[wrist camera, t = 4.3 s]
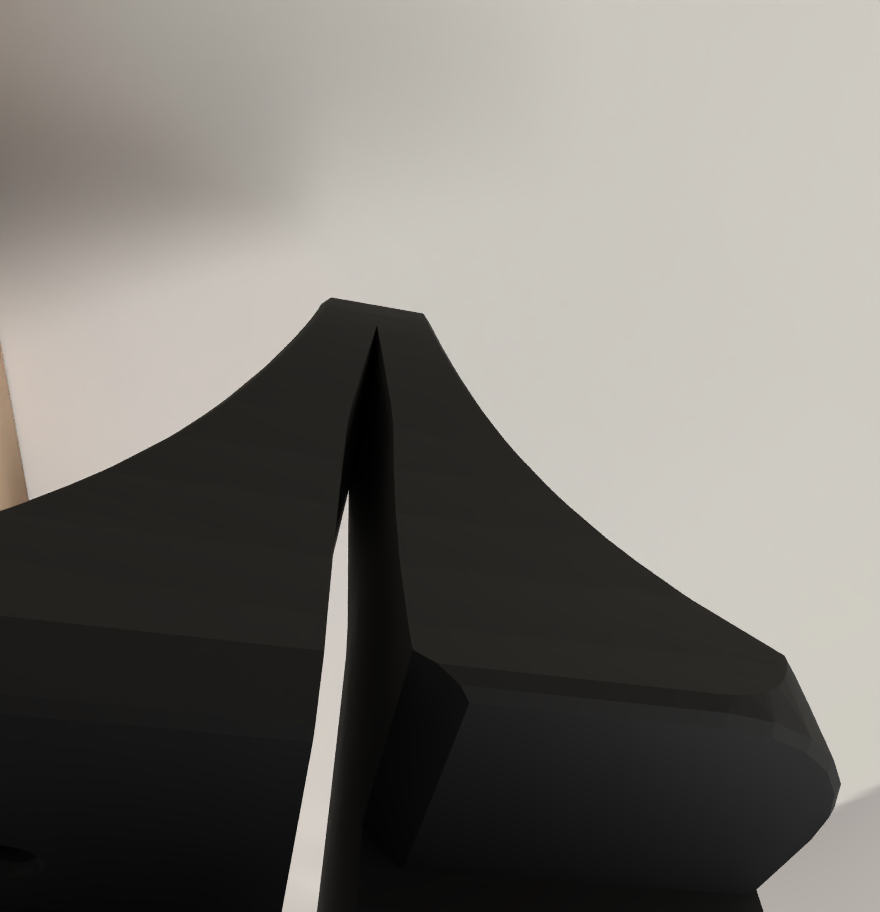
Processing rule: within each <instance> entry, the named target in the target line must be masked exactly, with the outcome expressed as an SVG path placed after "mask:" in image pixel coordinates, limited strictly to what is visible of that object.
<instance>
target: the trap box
mask: <svg viewBox="0 0 880 912" xmlns="http://www.w3.org/2000/svg"><path fill="white" fill-rule="evenodd" d="M27 501H29V499H28V494H27V488H26V483H25V477H24V471H23V466H22V460H21V455H20V449H19V444H18V438H17V432H16V427H15V421H14V416H13V410H12V405H11V399H10V394H9V388H8V382H7V377H6V371H5V366H4V360H3V355H2V349H1V344H0V511H1V510H4V509H7V508H10V507H13V506H16V505H19V504H21V503H24V502H27Z"/></svg>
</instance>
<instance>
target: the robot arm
mask: <svg viewBox="0 0 880 912" xmlns="http://www.w3.org/2000/svg"><path fill="white" fill-rule="evenodd" d="M348 490H349V520H348V631H347V650H346V662H345V671H344V681H343V690H342V699H341V708H340V717H339V726H338V735H337V744H336V753H335V762H334V771H333V780H332V789H331V798H330V806H329V815H328V823H327V832H326V840H325V849H324V858H323V866H322V875H321V883H320V892H319V900H318V908H317V912H763V909H762V906H761V903H760V900H759V897H758V894H757V890H756V889H757V888H759V887H760V886H761V885H762V884H763V883H764V882H765V881H766V880H767V879H768V878H770V876H772V875H773V874H774V873H775V872H776V871H777V870H778V869H779V868H780V867H782V865H784V864H785V863H786V862H787V861H788V860H789V859H790V858H791V857H792V856H794V855H795V854H796V853H797V852H798V851H799V850H800V849H801V848H802V847H803V846H804V845H805V844H807V843H808V842H809V841H810V840H811V839H812V838H813V836H814V835H815V834H816V833H817V832H818V830H819V829H820V828H821V827H822V825H823V824H824V823H825V822H826V820H827V819H828V818H829V816H830V815H831V813H832V811H833V809H834V807H835V803H836V799H837V796H838V792H839V789H840V785H841V783H840V779H839V776H838V773H837V769H836V766H835V763H834V760H833V757H832V755H831V753H830V751H829V748H828V746H827V744H826V742H825V740H824V737H823V735H822V733H821V731H820V728H819V726H818V724H817V722H816V720H815V717H814V715H813V713H812V711H811V709H810V706H809V704H808V702H807V700H806V698H805V696H804V694H803V692H802V689H801V687H800V685H799V683H798V681H797V679H796V677H795V675H794V673H793V671H792V669H791V667H790V665H789V664H788V662H787V660H786V658H785V656H784V655H782V654H781V653H779V652H777V651H776V650H774V649H772V648H771V647H769V646H767V645H766V644H764V643H762V642H761V641H759V640H757V639H756V638H754V637H752V636H751V635H749V634H747V633H746V632H744V631H742V630H741V629H739V628H737V627H736V626H734V625H732V624H731V623H729V622H728V621H726V620H724V619H723V618H721V617H719V616H718V615H716V614H714V613H713V612H711V611H709V610H708V609H706V608H704V607H703V606H701V605H699V604H698V603H696V602H694V601H693V600H691V599H690V598H688V597H687V596H685V595H684V594H682V593H681V592H679V591H678V590H676V589H675V588H673V587H672V586H671V585H669V584H668V583H666V582H665V581H664V580H662V579H661V578H659V577H658V576H656V575H655V574H654V573H652V572H651V571H649V570H648V569H647V568H645V567H644V566H642V565H641V564H639V563H638V562H637V561H635V560H634V559H633V558H631V557H630V556H629V555H627V554H626V553H625V552H624V551H622V550H621V549H620V548H618V547H617V546H616V545H614V544H613V543H612V542H611V541H609V540H608V539H607V538H605V537H604V536H603V535H602V534H601V533H600V532H598V531H597V530H596V529H595V528H594V527H593V526H591V525H590V524H589V523H588V522H587V521H586V520H584V519H583V518H582V517H581V516H580V515H579V514H577V513H576V512H575V511H574V510H573V509H572V508H570V507H569V506H568V505H567V504H566V503H565V502H564V501H563V500H562V499H561V498H559V497H558V496H557V495H556V494H555V493H554V492H553V491H552V490H551V489H550V488H549V487H548V486H547V485H546V484H545V483H544V482H543V481H542V480H541V479H540V478H539V477H538V476H537V475H536V474H535V473H534V472H533V471H532V469H531V468H530V467H529V466H528V465H527V464H526V463H525V462H524V461H523V460H522V459H521V458H520V457H519V456H518V455H517V454H516V452H515V451H514V450H513V449H512V448H511V447H510V446H509V444H508V443H507V442H506V441H505V440H504V438H503V437H502V436H501V435H500V433H499V432H498V431H497V430H496V428H495V427H494V426H493V424H492V423H491V422H490V421H489V419H488V418H487V417H486V415H485V414H484V413H483V411H482V410H481V408H480V407H479V406H478V404H477V403H476V401H475V400H474V398H473V397H472V395H471V394H470V392H469V391H468V389H467V387H466V386H465V384H464V383H463V381H462V380H461V378H460V377H459V375H458V373H457V372H456V370H455V369H454V367H453V365H452V363H451V362H450V360H449V358H448V357H447V355H446V353H445V351H444V350H443V348H442V346H441V344H440V342H439V340H438V339H437V337H436V335H435V333H434V331H433V329H432V327H431V325H430V323H429V322H428V320H427V319H426V317H425V316H424V314H422V313H417V312H411V311H405V310H400V309H394V308H388V307H382V306H377V305H371V304H365V303H360V302H354V301H348V300H342V299H337V298H330V299H328V300H327V301H325V302H324V303H322V304H321V306H320V307H319V309H318V310H317V312H316V313H315V315H314V316H313V317H312V318H311V320H310V321H309V322H308V323H307V324H306V326H305V327H304V328H303V329H302V330H301V331H300V332H299V333H298V335H297V336H296V337H295V338H294V339H293V340H292V341H291V342H290V343H289V344H288V345H287V346H286V347H285V348H284V349H283V350H282V351H281V352H280V353H279V354H278V355H277V356H276V357H275V358H274V359H273V360H272V361H271V362H270V363H269V364H268V365H267V366H265V367H264V368H263V369H262V370H261V371H260V372H259V373H257V374H256V375H255V376H254V377H253V378H251V379H250V380H249V381H248V382H247V383H245V384H244V385H243V386H242V387H241V388H239V389H238V390H237V391H236V392H234V393H233V394H232V395H231V396H230V397H228V398H227V399H226V400H224V401H223V402H222V403H220V404H219V405H217V406H216V407H215V408H213V409H212V410H211V411H209V412H208V413H206V414H205V415H203V416H202V417H200V418H199V419H197V420H196V421H194V422H193V423H191V424H190V425H188V426H186V427H185V428H183V429H182V430H180V431H179V432H177V433H175V434H174V435H172V436H170V437H169V438H167V439H165V440H163V441H161V442H159V443H157V444H155V445H153V446H151V447H149V448H148V449H146V450H144V451H142V452H140V453H138V454H136V455H134V456H132V457H130V458H128V459H126V460H124V461H122V462H120V463H118V464H116V465H114V466H112V467H110V468H108V469H106V470H104V471H101V472H99V473H97V474H94V475H92V476H90V477H87V478H85V479H83V480H80V481H78V482H76V483H73V484H71V485H69V486H66V487H63V488H61V489H58V490H56V491H53V492H50V493H48V494H45V495H43V496H40V497H37V498H35V499H32V500H30V501H27V502H24V503H21V504H19V505H16V506H13V507H10V508H7V509H4V510H1V511H0V912H282V907H283V901H284V896H285V891H286V885H287V880H288V874H289V869H290V863H291V858H292V852H293V847H294V841H295V836H296V831H297V825H298V820H299V814H300V809H301V803H302V798H303V792H304V787H305V781H306V776H307V770H308V765H309V760H310V754H311V749H312V743H313V737H314V730H315V723H316V714H317V706H318V698H319V690H320V681H321V673H322V665H323V657H324V647H325V636H326V624H327V612H328V602H329V591H330V580H331V570H332V559H333V553H334V549H335V544H336V540H337V536H338V532H339V528H340V524H341V520H342V515H343V511H344V507H345V503H346V499H347V495H348Z"/></svg>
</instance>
